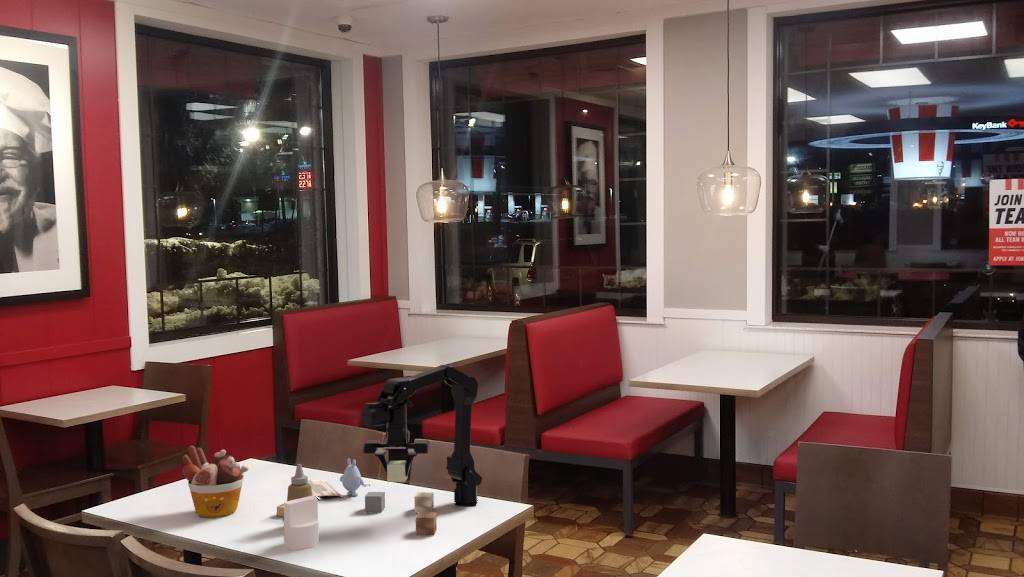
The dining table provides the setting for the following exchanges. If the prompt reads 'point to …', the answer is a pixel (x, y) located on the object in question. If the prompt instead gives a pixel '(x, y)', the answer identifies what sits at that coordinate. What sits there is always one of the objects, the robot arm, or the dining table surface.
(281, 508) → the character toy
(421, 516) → the walnut block
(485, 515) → the dining table surface
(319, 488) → the newspaper
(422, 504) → the cream block
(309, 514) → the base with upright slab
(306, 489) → the squeeze bottle
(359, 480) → the toy figure
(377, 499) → the slate block
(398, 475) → the sage block
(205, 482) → the bucket of meat
